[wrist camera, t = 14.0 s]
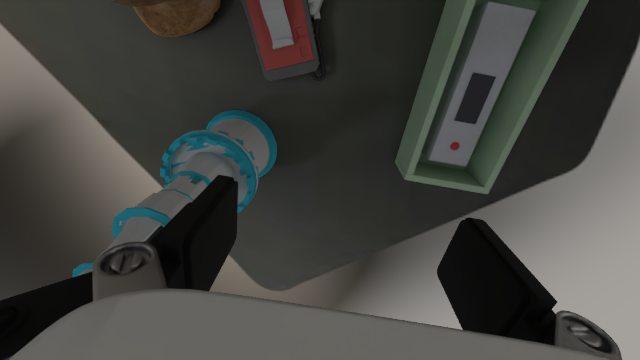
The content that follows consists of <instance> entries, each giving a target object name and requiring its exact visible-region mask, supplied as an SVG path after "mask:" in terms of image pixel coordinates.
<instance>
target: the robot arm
mask: <svg viewBox="0 0 640 360" xmlns="http://www.w3.org/2000/svg"><path fill="white" fill-rule="evenodd" d="M237 208H238V182H237V181H234V178H233V177H230V176H224V175H218V176H217V177H216V178H215V179H214V180H213V181H212V182H211V183H210V184H209V185H208V186H207V187H206V188H205V189H204V190H203V191H202V192H201V193H200V194H199V195H198V196H197V197H196V198H195V199H194V201H193V202H189V203H188V204H186V205H185V206H184V207H183V208H182V209H181V210H180V211H179V212H178V213H177V214H176V215H175V216H174V217H173V218H172V219H171V220H170V221H169V222H168V223H167V224H166V226H165V227H164V228H163V229H162V230H161V231H160V232H159V233H158V234H157V235H156V236H155V237H154V238H153V239H152V240H151V241H150V242H149V243H145V242H129V243H123V244H120V245H117V246H114V247H112V248H110V249H108V250H106V251H105V252H103V253H102V254H101V255H100V256H99V257H98V258H97V259H96V261H95V262H94V264H93V268H92V271H91V272H88V273H85V274H82V275H79V276H76V277H73V278H70V279H66V280H63V281H60V282H57V283H54V284H51V285H48V286H45V287H41V288H38V289H36V290H32V291H29V292H26V293H23V294H20V295H16V296H13V297H10V298H7V299H4V300H1V301H0V360H622V358H621V353H620V350H619V348H618V346H617V344H616V343H615V342H614V341H613V340H612V338H611V337H610V336H609V335H608V334H607V333H606V332H605V331H604V330H602V329H601V328H600V327H598V326H597V325H596V324H594V323H593V322H591V321H589V320H588V319H586V318H584V317H582V316H580V315H578V314H576V313H573V312H569V311H560V312H558V313H557V314H555V313H554V312H553V311H552V308H553V307H554V306H555V304H556V303H557V301H556V300H555V299H554V298H553V296H552V295H551V294H550V293H549V292H548V291H547V290H546V289H545V288H544V286H543V285H542V284H541V283H540V282H539V281H538V280H537V279H536V278H535V276H534V275H533V274H532V273H531V272H530V271H529V270H528V269H527V268H526V267H525V265H524V264H523V263H522V262H521V261H520V260H519V259H518V258H517V257H516V255H515V254H514V253H513V252H512V251H511V250H510V249H509V248H508V247H507V245H506V244H504V242H503V241H502V240H501V239H500V238H499V237H498V236H497V234H496V233H495V232H494V231H493V230H492V229H491V228H490V227H489V226H488V224H487V223H486V222H484V221H483V220H480V219H474V218H466V219H465V220H462V221H461V222H460V224H459V226H458V228H457V230H456V232H455V234H454V236H453V238H452V240H451V242H450V244H449V246H448V248H447V250H446V252H445V254H444V256H443V258H442V260H441V262H440V264H439V266H438V269H437V275H438V278H439V280H440V282H441V284H442V286H443V288H444V290H445V293H446V295H447V297H448V299H449V301H450V303H451V305H452V308H453V310H454V312H455V314H456V316H457V318H458V320H459V323H460V324H461V327H462V329H463V330H459V329H454V328H448V327H441V326H435V325H429V324H423V323H417V322H410V321H404V320H397V319H392V318H385V317H379V316H373V315H366V314H360V313H354V312H347V311H341V310H334V309H328V308H321V307H315V306H308V305H302V304H295V303H288V302H282V301H275V300H269V299H262V298H255V297H249V296H242V295H235V294H227V293H218V292H209V290H210V288H211V286H212V284H213V282H214V281H215V278H216V277H217V275H218V273H219V271H220V269H221V267H222V265H223V263H224V262H225V260H226V258H227V256H228V254H229V252H230V250H231V248H232V246H233V245H234V243H235V240H236V235H237Z"/></svg>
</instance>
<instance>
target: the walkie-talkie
mask: <svg viewBox="0 0 640 360" xmlns="http://www.w3.org/2000/svg"><path fill="white" fill-rule="evenodd" d="M241 2H242V5H243V8H244V11H245V15H246V16H247V19H248V20H247V21H248V22H249V28H250V29H251V34H252V36H253V38H252V39H253V40H254V45H255V46H256V51H257V53H258V54H257V56H258V57H259V62H260V64H261V65H260V67H262V72H263V74H264V76H263V77H265V78H266V79H267V80H269V81H270V82H271V81H275V80H280V79H284V78H288V77H292V76H297V75H301V74H305V73H310V72H311V75H312V77H313V79H314V80H316V81H321V80H323V78H324V77H325V66H324V61H323V55H322V50H321V45H320V40H319V34H318V28H319V19H321V17H320V12H319V10H320V8H321V5H322V3H323V0H241ZM311 17H314V20H315V21H316V24H315V28H314V29H315V30H314V29H313V27H314V25H313V24H312V21H313V20H312V18H311ZM314 32H315V35H314ZM315 38H316V40H315ZM316 43H317V45H316ZM317 48H318V50H317ZM318 54H319V55H318ZM319 59H320V60H319ZM320 63H321V68H322V75H321V77H316V75H315V73H314V71H316V70H317V69H318V67H319V65H320Z"/></svg>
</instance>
